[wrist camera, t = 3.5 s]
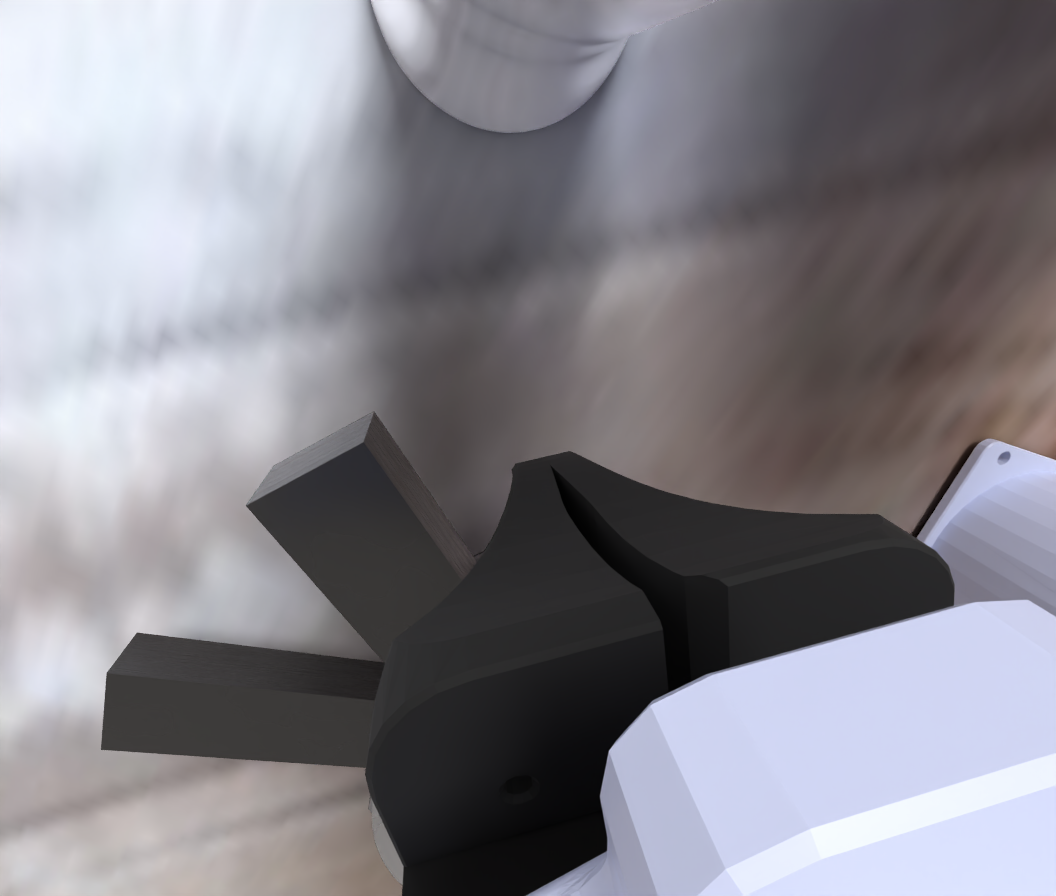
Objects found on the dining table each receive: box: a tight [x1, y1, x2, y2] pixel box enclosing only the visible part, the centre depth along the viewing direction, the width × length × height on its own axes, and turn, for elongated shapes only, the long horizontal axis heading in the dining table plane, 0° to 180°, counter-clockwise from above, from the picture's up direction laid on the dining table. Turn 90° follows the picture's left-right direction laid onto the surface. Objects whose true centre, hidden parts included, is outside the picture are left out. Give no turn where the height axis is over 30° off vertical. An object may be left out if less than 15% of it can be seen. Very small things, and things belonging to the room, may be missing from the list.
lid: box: [246, 412, 477, 886], centre depth 13 cm, size 19×12×2 cm, turn 27°
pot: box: [101, 552, 484, 812], centre depth 17 cm, size 21×12×4 cm, turn 72°
